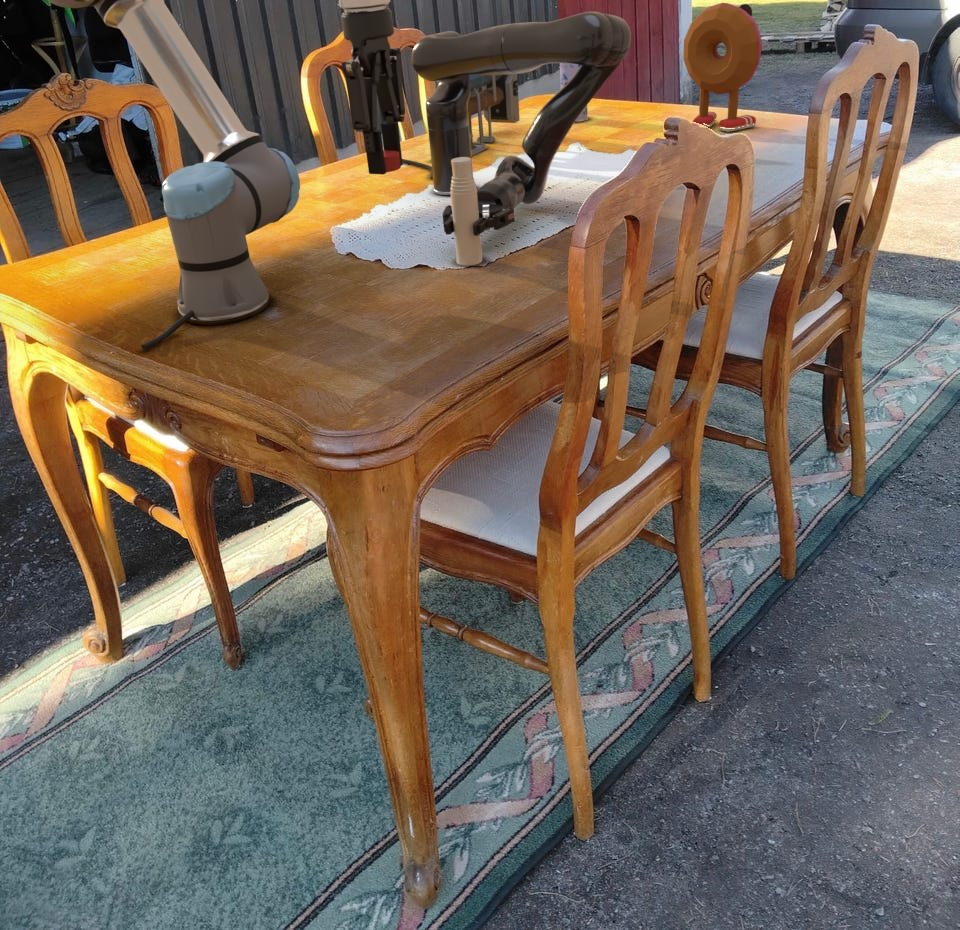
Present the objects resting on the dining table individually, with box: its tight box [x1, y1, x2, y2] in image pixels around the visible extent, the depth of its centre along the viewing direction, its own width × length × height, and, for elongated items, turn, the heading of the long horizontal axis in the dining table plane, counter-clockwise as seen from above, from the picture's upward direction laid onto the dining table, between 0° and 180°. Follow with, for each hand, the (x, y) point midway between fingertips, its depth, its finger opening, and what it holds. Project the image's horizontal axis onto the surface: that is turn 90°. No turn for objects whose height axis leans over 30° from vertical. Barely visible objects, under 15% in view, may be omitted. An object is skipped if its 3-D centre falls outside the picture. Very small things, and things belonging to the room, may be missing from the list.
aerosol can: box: [559, 63, 589, 123], centre depth 273 cm, size 8×8×20 cm
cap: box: [383, 149, 402, 173], centre depth 153 cm, size 5×5×2 cm
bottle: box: [450, 157, 483, 267], centre depth 173 cm, size 5×5×18 cm
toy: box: [682, 2, 763, 133], centre depth 248 cm, size 21×10×30 cm, turn 47°
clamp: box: [468, 74, 521, 157], centre depth 252 cm, size 35×9×21 cm, turn 151°
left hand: (386, 169), depth 154 cm, fingers closed on cap, 4 cm apart
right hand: (461, 229), depth 173 cm, fingers closed on bottle, 4 cm apart
